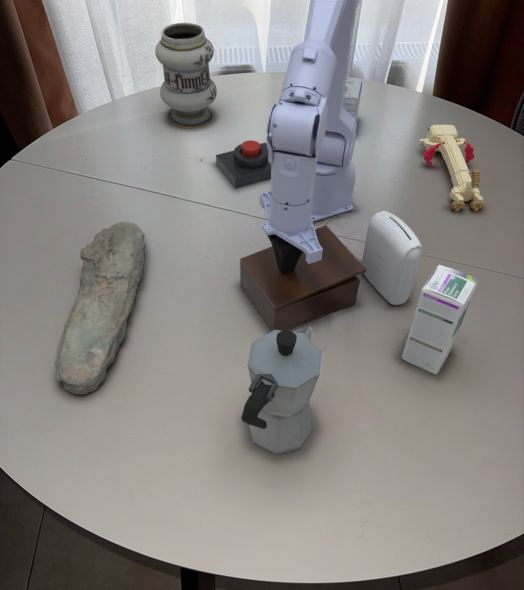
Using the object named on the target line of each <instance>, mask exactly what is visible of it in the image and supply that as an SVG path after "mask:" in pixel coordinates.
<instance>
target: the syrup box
mask: <svg viewBox="0 0 524 590" xmlns="http://www.w3.org/2000/svg"><path fill="white" fill-rule="evenodd" d="M478 283H479V279H478V278H475V277H474V276H471V275H469V274H468V273H465V272H463V271H459V270H457V269H455V268H451V267H448V266H445V265H442V264H438V265H436V268H435V269H434V271H433V272H432V273H431V274H430V276H429V277H428V279H427V280H426V281H425V284H424V285H423V286H422V288H421V290H420V293H419V294H420V295H419V298H418V301H417V304H416V307H415V310H414V314H413V316H412V320H411V323H410V327H409V330H408V333H407V337H406V341H405V343H404V347H403V350H402V353H401V357H400V358H401V359H402V360H403V361H405V362H406V363H409V364H411V365H413V366H415V367H418V368H419V369H422V370H425V371H426V372H429V373H430V374H433V375H436V376H437V375H438V373H439V372H440V371H441V369H442V367H443V365H444V364H445V362H446V361H447V358H448V357H449V354H450V353H451V351H452V349H453V347H454V343H455V342H456V339H457V336H458V334H459V331H460V329H461V326H462V324H463V321H464V319H465V316H466V313H467V311H468V308H469V306H470V303H471V301H472V298H473V295H474V293H475V290H476V288H477V286H478Z"/></svg>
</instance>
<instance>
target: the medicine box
mask: <svg viewBox="0 0 524 590" xmlns="http://www.w3.org/2000/svg"><path fill="white" fill-rule="evenodd" d="M362 88H363V81H362V80H357V79H346V86H345V93H344V100H343V108H344V109H345V110H346V111H347V112H348V113H349V114H350V115H352V116H353V117H354V118H355V120H356V123H357V121H358V115H359V111H360V109H359V108H360V101H361V94H362Z"/></svg>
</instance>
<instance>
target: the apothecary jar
mask: <svg viewBox="0 0 524 590" xmlns="http://www.w3.org/2000/svg"><path fill="white" fill-rule="evenodd" d="M154 53H155V57H156V59H157V61H158V62H159V63H160V64H161V65H162V70H163V80H164V81H163V82H162V84H161V86H160V89H159V96H160V98H161V100H162V102H163V103H164V104H165V105H166V106H168V107H169V108H171V109H170V110H169V111H168V114H167V115H168V121H169V123H171V124H172V125H174V126H176V127H178V128H181V129H198V128H201V127H204V126H206V125H208V124H210V122H212V119H213V116H214V114H213V112H212V110H211V109H210V108H208V107H209V106H210V105H211V104H212V103H213V102H214V101H215V100H216V98H217V95H218V88H217V86H216V83H215V82H214V81H213V80H212V79H211V74H210V73H211V72H210V62H211V61H212V59H213V57H214V55H215V48H214V45H213V44H212V42H211V41H210V40H209V39H208V38H207V37H206V35H205V29H204V28H203V27H202V26H201V25H199V24H196V23H192V22H175V23H172V24H169V25H166V26H165V27H164V28H163V29H162V30H161V37H160V40H158V42H157V43H156V46H155V49H154Z"/></svg>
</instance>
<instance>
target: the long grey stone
mask: <svg viewBox="0 0 524 590" xmlns="http://www.w3.org/2000/svg"><path fill="white" fill-rule="evenodd" d="M145 236H146V235H145V233H144V232H143V230H142V228H141V227H140V226H139V225H138V224H136V223H134V222H131V221H119V222H116V223H114V224H112V225H110V226H109V227H107V228H102V229H101V231H100V232H98V233H96V234H95V235H94V237H93V240H92V242H91V243H88V244H86V246H85V247H82V248H81V249H80V254H79V258H80V260H82V261H83V262H82V264H83V265H82V267H81V276H80V278H79V290H78V293H77V294H78V295H77V297H76V299H75V300H74V301H73V305H72V306H71V308H70V310H69V312H68V313H69V315H68V317H67V319H66V321H65V323H64V326H63V331H62V333H61V336H62V337H61V338H60V340H59V341H58V346H57V348H56V353H57V356H56V361H55V362H54V366H55V374H54V380H55V382H56V383H57V384H62V387H63V389H64V390H66V391H67V392H68V393H71V394H73V395H87V394H89V393H91V392H94V391H95V390H97V389H98V388H99V385H101V383H102V382H103V381H104V380H105V378H106V376H107V370H108V369H109V368H110V365H111V364H112V363H113V362H114V361H115V359H116V356H117V352H118V351H119V349H120V345H121V344H122V343H123V341H124V339H125V337H126V335H127V326H128V319H129V316H130V314H131V313H132V312H133V309H134V302H135V298H136V296H137V291H138V289H139V287H138V286H139V285H140V281H141V279H142V277H144V276H143V274H144V264H145V255H144V254H145V251H146V242H145Z"/></svg>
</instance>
